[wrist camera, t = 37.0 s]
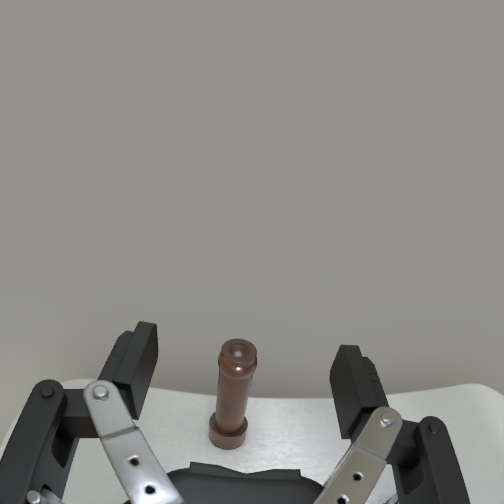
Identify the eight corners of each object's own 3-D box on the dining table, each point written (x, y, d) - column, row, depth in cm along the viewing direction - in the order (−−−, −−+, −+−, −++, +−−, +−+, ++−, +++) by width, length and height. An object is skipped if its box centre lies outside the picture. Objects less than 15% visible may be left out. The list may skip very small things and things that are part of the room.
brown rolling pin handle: (216, 453, 32) (225, 369, 25) (203, 425, 35) (208, 336, 29) (250, 444, 34) (272, 358, 27) (236, 417, 37) (251, 328, 31)
